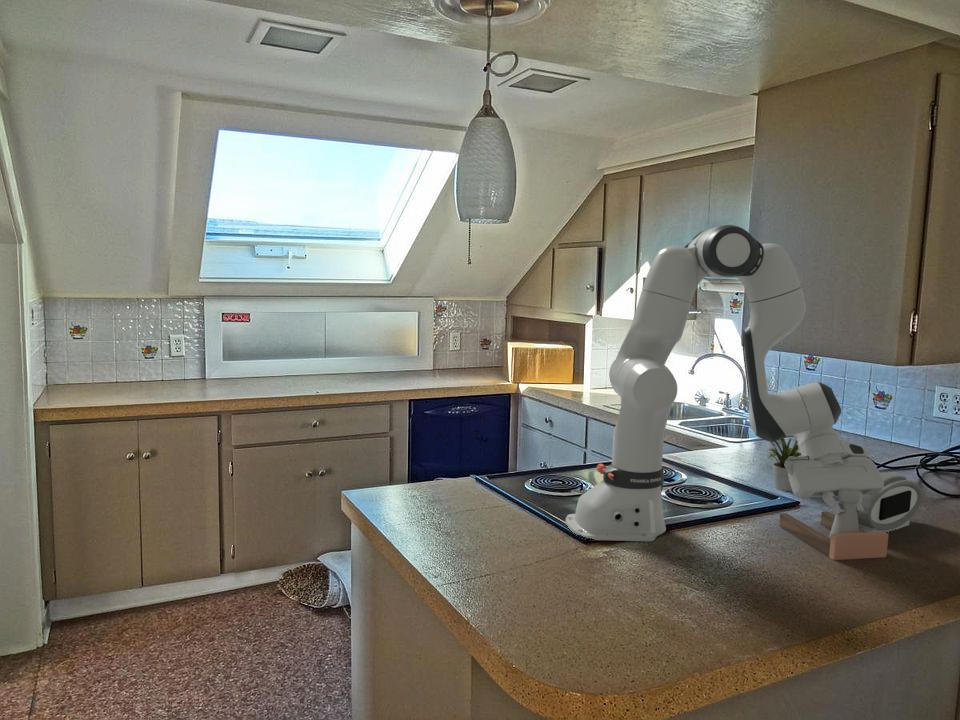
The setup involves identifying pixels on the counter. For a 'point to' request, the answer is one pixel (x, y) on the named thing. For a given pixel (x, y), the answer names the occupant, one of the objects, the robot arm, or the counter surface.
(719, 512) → the counter surface
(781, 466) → the house plant
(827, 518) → the walnut channel
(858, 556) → the block
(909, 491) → the alarm clock
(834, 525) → the salt shaker
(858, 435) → the counter surface
